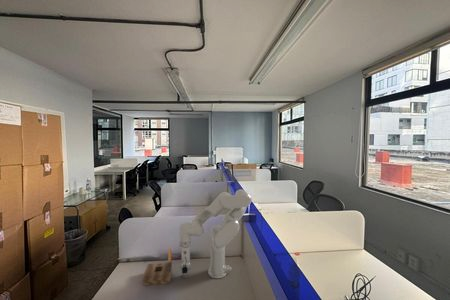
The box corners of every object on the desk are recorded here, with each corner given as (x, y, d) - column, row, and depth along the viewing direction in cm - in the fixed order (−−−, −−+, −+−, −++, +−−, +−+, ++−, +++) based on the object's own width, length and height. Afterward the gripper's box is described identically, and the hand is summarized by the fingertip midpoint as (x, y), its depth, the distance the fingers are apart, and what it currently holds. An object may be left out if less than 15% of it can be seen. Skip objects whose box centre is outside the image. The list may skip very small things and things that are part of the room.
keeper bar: (168, 261, 137) (171, 261, 137) (168, 264, 134) (170, 264, 134) (168, 247, 136) (171, 247, 136) (168, 250, 133) (170, 250, 133)
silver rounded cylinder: (190, 272, 140) (190, 260, 140) (190, 279, 134) (190, 265, 134) (181, 273, 140) (181, 260, 139) (180, 279, 134) (180, 266, 133)
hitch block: (172, 271, 142) (172, 255, 141) (170, 283, 130) (170, 266, 129) (147, 272, 140) (147, 256, 139) (143, 285, 128) (142, 268, 127)
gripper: (190, 249, 127) (190, 276, 128) (191, 235, 144) (191, 259, 146) (178, 250, 126) (178, 277, 128) (180, 236, 144) (180, 260, 145)
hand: (185, 268), depth 137 cm, fingers open, 9 cm apart
